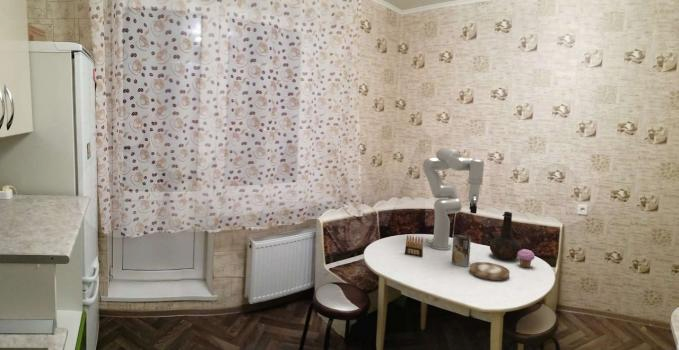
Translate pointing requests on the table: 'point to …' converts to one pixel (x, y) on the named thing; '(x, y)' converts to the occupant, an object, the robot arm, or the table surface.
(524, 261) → the cupcake
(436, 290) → the table surface
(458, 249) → the coffee box
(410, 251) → the ammunition clip
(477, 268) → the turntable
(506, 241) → the dark brown vase
